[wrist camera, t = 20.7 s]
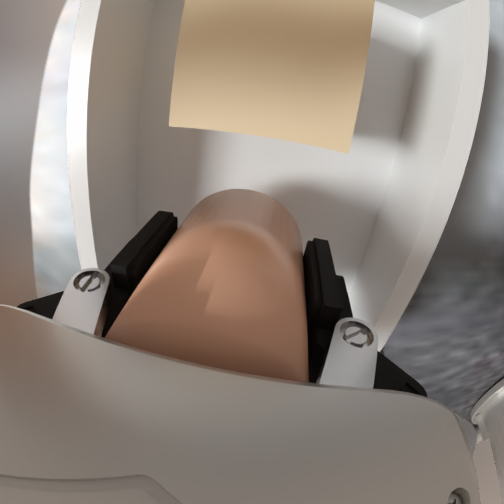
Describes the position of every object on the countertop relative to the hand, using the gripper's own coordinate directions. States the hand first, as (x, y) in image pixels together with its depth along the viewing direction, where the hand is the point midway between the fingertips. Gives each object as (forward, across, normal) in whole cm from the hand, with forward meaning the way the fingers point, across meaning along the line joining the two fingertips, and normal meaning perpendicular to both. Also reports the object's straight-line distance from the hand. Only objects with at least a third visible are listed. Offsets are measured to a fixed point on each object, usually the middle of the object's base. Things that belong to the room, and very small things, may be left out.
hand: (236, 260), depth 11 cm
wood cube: (+3, 0, -8) cm, 8 cm away
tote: (+4, 0, -4) cm, 6 cm away
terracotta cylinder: (+1, 0, 0) cm, 1 cm away
